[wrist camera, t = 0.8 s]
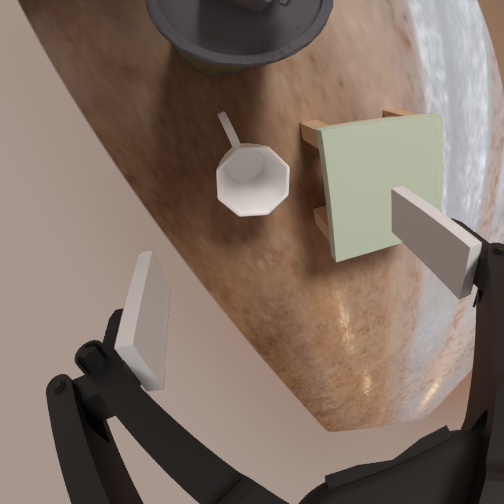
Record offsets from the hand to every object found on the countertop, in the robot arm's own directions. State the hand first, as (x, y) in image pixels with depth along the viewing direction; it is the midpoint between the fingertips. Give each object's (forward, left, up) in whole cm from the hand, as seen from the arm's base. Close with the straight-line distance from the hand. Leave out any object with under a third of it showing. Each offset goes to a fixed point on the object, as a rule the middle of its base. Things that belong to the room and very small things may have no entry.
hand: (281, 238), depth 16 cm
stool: (+5, +14, -21) cm, 25 cm away
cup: (0, 0, -21) cm, 21 cm away
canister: (-14, +1, -21) cm, 25 cm away
